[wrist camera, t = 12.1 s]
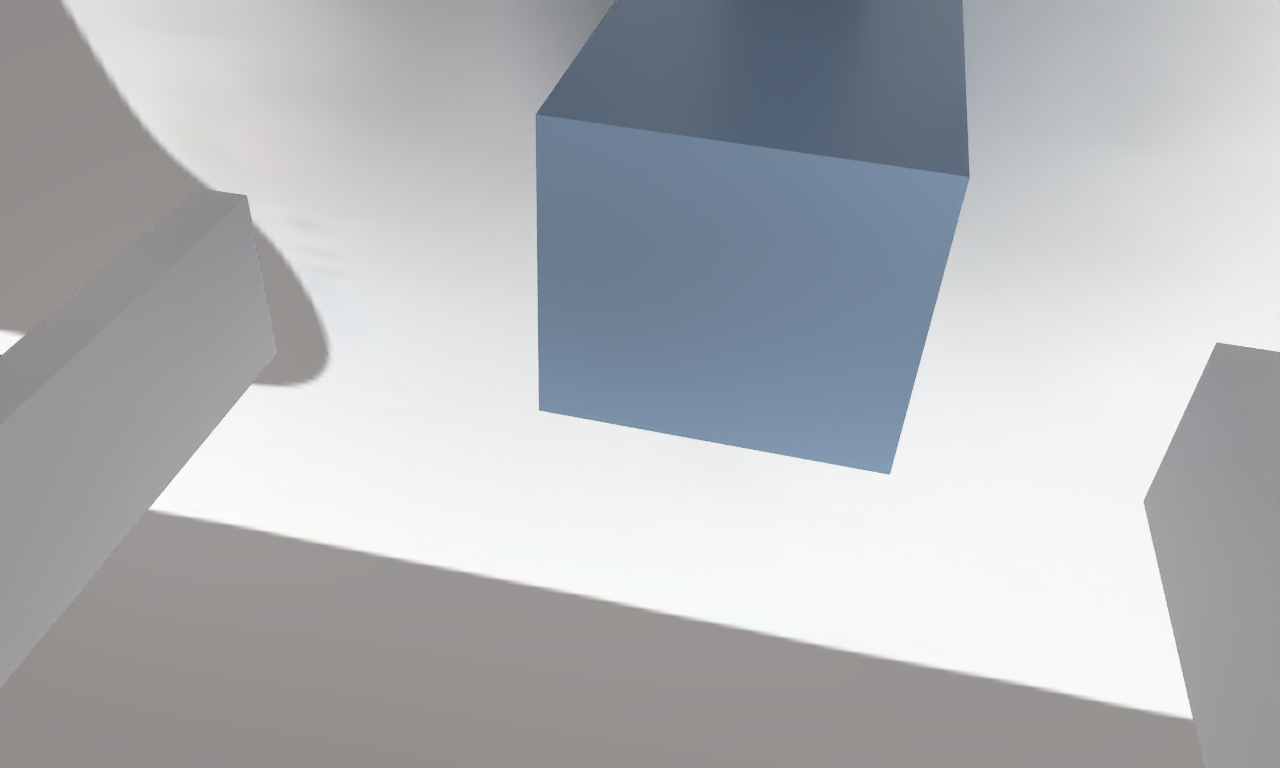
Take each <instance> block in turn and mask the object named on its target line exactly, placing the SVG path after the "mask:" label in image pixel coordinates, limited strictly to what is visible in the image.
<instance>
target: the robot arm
mask: <svg viewBox="0 0 1280 768" xmlns="http://www.w3.org/2000/svg"><path fill="white" fill-rule="evenodd" d="M276 353H277V347H276V342H275V337H274V332H273V327H272V322H271V317H270V312H269V307H268V302H267V297H266V291H265V286H264V281H263V276H262V271H261V266H260V261H259V256H258V251H257V245H256V240H255V235H254V230H253V225H252V220H251V215H250V210H249V204H248V199H247V196H246V195H239V194H233V193H226V192H220V191H213V190H206V189H200V188H197V189H195V190H194V191H193V192H192V193H191V194H190V195H188V196H187V197H186V198H185V199H184V200H183V201H181V202H180V203H179V204H178V205H177V206H176V207H174V208H173V209H172V210H171V211H170V212H169V213H168V214H166V215H165V216H164V217H163V218H162V219H161V220H159V221H158V222H157V223H156V224H155V225H153V226H152V227H151V228H150V229H149V230H148V231H146V232H145V233H144V234H143V235H142V236H141V237H139V238H138V239H137V240H136V241H135V242H134V243H132V244H131V245H130V246H129V247H128V248H127V249H126V250H124V251H123V252H122V253H121V254H120V255H118V256H117V257H116V258H115V259H114V260H113V261H112V262H110V263H109V264H108V265H107V266H106V267H104V268H103V269H102V270H101V271H100V272H99V273H97V274H96V275H95V276H94V277H93V278H92V279H90V280H89V281H88V282H87V283H86V284H84V285H83V286H82V287H81V288H80V289H79V290H77V291H76V292H75V293H74V294H73V295H72V296H71V297H69V298H68V299H67V300H66V301H65V302H64V303H62V304H61V305H60V306H59V307H58V308H56V309H55V310H54V311H53V312H52V313H51V314H49V315H48V316H47V317H46V318H45V319H44V320H42V321H41V322H40V323H39V324H38V325H37V326H35V328H33V329H32V330H31V331H30V332H28V333H27V334H26V335H25V336H24V337H23V338H21V339H20V340H19V341H18V342H17V343H16V344H14V345H13V346H12V347H11V348H10V349H9V350H7V351H6V352H5V353H4V354H3V355H0V688H1V687H2V686H3V685H4V683H5V682H6V681H7V680H8V679H9V677H10V676H11V675H12V674H13V672H14V671H15V670H16V669H17V668H18V666H19V665H20V664H21V663H22V662H23V660H24V659H25V658H26V657H27V656H28V654H29V653H30V652H31V651H32V649H33V648H34V647H35V646H36V645H37V643H38V642H39V641H40V640H41V638H42V637H43V636H44V635H45V634H46V632H47V631H48V630H49V629H50V628H51V626H52V625H53V624H54V623H55V621H56V620H57V619H58V618H59V617H60V616H61V614H62V613H63V612H64V611H65V609H66V608H67V607H68V606H69V605H70V603H71V602H72V601H73V600H74V599H75V597H76V596H77V595H78V594H79V592H80V591H81V590H82V589H83V588H84V586H85V585H86V584H87V582H89V580H90V579H91V578H92V577H93V575H94V574H95V573H96V572H97V570H98V569H99V568H100V567H101V566H102V564H103V563H104V562H105V561H106V560H107V558H108V557H109V556H110V554H112V552H113V551H114V550H115V549H116V547H117V546H118V545H119V544H120V543H121V541H122V540H123V539H124V538H125V536H126V535H127V534H128V533H129V532H130V531H131V529H132V528H133V527H134V526H135V524H136V523H137V522H138V521H139V520H140V518H141V517H142V516H143V515H144V513H145V512H146V511H147V510H148V509H149V508H150V506H151V505H152V504H153V503H154V501H155V500H156V499H157V498H158V497H159V495H160V494H161V493H162V492H163V491H164V489H165V488H166V487H167V486H168V484H169V483H170V482H171V481H172V480H173V478H174V477H175V476H176V475H177V474H178V472H179V471H180V470H181V469H182V467H183V466H184V465H185V464H186V463H187V461H188V460H189V459H190V458H191V457H192V455H193V454H194V453H195V452H196V450H197V449H198V448H199V447H200V446H201V444H202V443H203V442H204V441H205V440H206V438H207V437H208V436H209V435H210V433H211V432H212V431H213V430H214V429H215V427H216V426H217V425H218V424H219V423H220V421H221V420H222V419H223V418H224V417H225V415H226V414H227V413H228V412H229V410H230V409H231V408H232V407H233V406H234V404H235V403H236V402H237V401H238V400H239V398H240V397H241V396H242V395H243V393H244V392H245V391H246V390H247V389H248V387H249V386H250V385H251V384H252V383H253V381H254V380H255V379H256V378H257V376H258V375H259V374H260V373H261V372H262V370H263V369H264V368H265V367H266V365H267V364H268V363H269V362H270V361H271V359H272V358H273V357H274V356H275V355H276ZM1144 505H1145V510H1146V514H1147V518H1148V523H1149V527H1150V531H1151V536H1152V540H1153V545H1154V549H1155V553H1156V558H1157V562H1158V567H1159V571H1160V575H1161V580H1162V584H1163V589H1164V593H1165V597H1166V602H1167V606H1168V610H1169V615H1170V619H1171V624H1172V628H1173V632H1174V637H1175V641H1176V646H1177V650H1178V654H1179V659H1180V663H1181V668H1182V672H1183V676H1184V681H1185V685H1186V689H1187V694H1188V698H1189V703H1190V707H1191V711H1192V716H1193V720H1194V725H1195V729H1196V733H1197V738H1198V742H1199V747H1200V751H1201V755H1202V760H1203V764H1204V768H1280V352H1275V351H1269V350H1262V349H1256V348H1249V347H1242V346H1236V345H1229V344H1223V343H1216V345H1215V347H1214V349H1213V352H1212V354H1211V356H1210V358H1209V360H1208V363H1207V365H1206V367H1205V369H1204V371H1203V373H1202V376H1201V378H1200V380H1199V382H1198V384H1197V386H1196V389H1195V391H1194V393H1193V395H1192V397H1191V399H1190V402H1189V404H1188V406H1187V408H1186V410H1185V412H1184V415H1183V417H1182V419H1181V421H1180V423H1179V426H1178V428H1177V430H1176V432H1175V434H1174V436H1173V439H1172V441H1171V443H1170V445H1169V447H1168V449H1167V452H1166V454H1165V456H1164V458H1163V460H1162V462H1161V465H1160V467H1159V469H1158V471H1157V473H1156V476H1155V478H1154V480H1153V482H1152V484H1151V486H1150V489H1149V491H1148V493H1147V495H1146V497H1145V499H1144Z"/></svg>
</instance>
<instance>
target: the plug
mask: <svg viewBox="0 0 1280 768" xmlns="http://www.w3.org/2000/svg"><path fill="white" fill-rule="evenodd" d="M536 168H537V260H538V353H539V410H540V411H546V412H551V413H557V414H562V415H568V416H573V417H579V418H584V419H589V420H595V421H600V422H606V423H611V424H617V425H622V426H628V427H633V428H639V429H644V430H650V431H655V432H660V433H666V434H671V435H677V436H682V437H688V438H693V439H699V440H704V441H710V442H715V443H721V444H726V445H731V446H737V447H742V448H748V449H753V450H759V451H764V452H770V453H775V454H781V455H786V456H791V457H797V458H802V459H808V460H813V461H819V462H824V463H830V464H835V465H841V466H846V467H852V468H857V469H862V470H868V471H873V472H879V473H884V474H890V472H891V468H892V464H893V460H894V457H895V453H896V449H897V446H898V442H899V438H900V434H901V431H902V427H903V423H904V419H905V416H906V412H907V408H908V404H909V401H910V397H911V393H912V389H913V386H914V382H915V378H916V375H917V371H918V367H919V363H920V360H921V356H922V352H923V348H924V345H925V341H926V337H927V333H928V330H929V326H930V322H931V318H932V315H933V311H934V307H935V304H936V300H937V296H938V292H939V289H940V285H941V281H942V277H943V274H944V270H945V266H946V262H947V259H948V255H949V251H950V247H951V244H952V240H953V236H954V233H955V229H956V225H957V221H958V218H959V214H960V210H961V206H962V203H963V199H964V195H965V191H966V188H967V184H968V180H969V156H968V131H967V107H966V83H965V58H964V34H963V10H962V0H616V1H615V3H614V4H613V5H612V7H611V8H610V10H609V11H608V13H607V14H606V15H605V17H604V18H603V20H602V21H601V23H600V24H599V25H598V27H597V28H596V30H595V31H594V32H593V34H592V35H591V37H590V38H589V40H588V41H587V42H586V44H585V45H584V47H583V48H582V50H581V51H580V52H579V54H578V55H577V57H576V58H575V60H574V61H573V62H572V64H571V65H570V67H569V68H568V69H567V71H566V72H565V74H564V75H563V77H562V78H561V79H560V81H559V82H558V84H557V85H556V87H555V88H554V89H553V91H552V92H551V94H550V95H549V97H548V98H547V99H546V101H545V102H544V104H543V105H542V107H541V108H540V109H539V111H538V112H537V114H536Z"/></svg>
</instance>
